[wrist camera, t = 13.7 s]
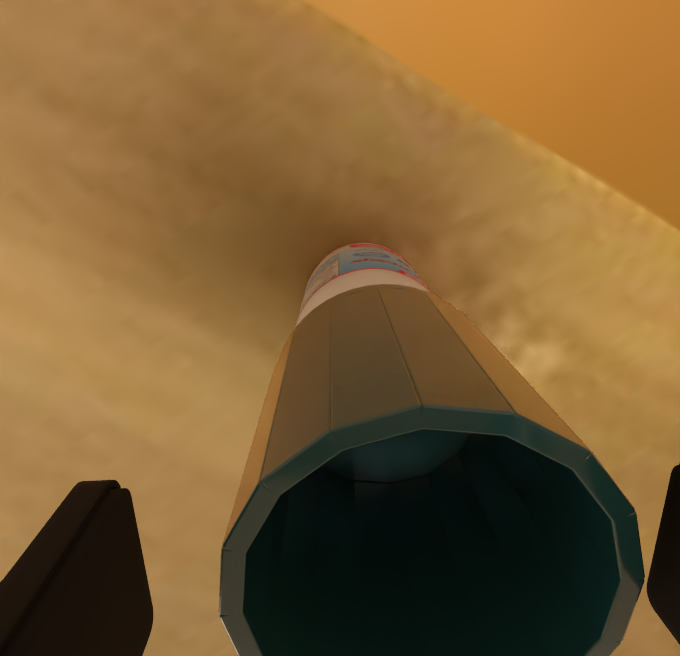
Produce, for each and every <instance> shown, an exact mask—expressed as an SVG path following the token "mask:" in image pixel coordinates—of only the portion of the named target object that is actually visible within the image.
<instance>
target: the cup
mask: <svg viewBox="0 0 680 656" xmlns="http://www.w3.org/2000/svg"><path fill="white" fill-rule="evenodd" d="M644 578H645V574H644V567H643V559H642V552H641V545H640V537H639V530H638V522H637V515H636V512H635V510H634V507H633V506H632V504H631V503H630V502H629V500H628V499H627V498H626V496H625V495H624V494H623V492H622V491H621V490H620V488H619V487H618V486H617V484H616V483H615V482H614V480H613V479H612V478H611V476H610V475H609V474H608V472H607V471H606V470H605V468H604V467H603V466H602V464H601V463H600V462H599V460H598V459H597V458H596V456H595V455H594V454H593V452H592V451H591V450H590V449H589V448H588V447H587V446H586V445H585V444H584V443H583V442H582V440H581V439H580V438H579V437H578V436H577V435H576V434H575V433H574V432H573V431H572V430H571V429H570V427H569V426H568V425H567V424H566V423H565V422H564V421H563V420H562V419H561V418H560V417H559V416H558V414H557V413H556V412H555V411H554V410H553V409H552V408H551V407H550V406H549V405H548V404H547V403H546V401H545V400H544V399H543V398H542V397H541V396H540V395H539V394H538V393H537V392H536V391H535V390H534V388H533V387H532V386H531V385H530V384H529V383H528V382H527V381H526V380H525V379H524V378H523V376H522V375H521V374H520V373H519V372H518V371H517V370H516V369H515V368H514V367H513V366H512V365H511V363H510V362H509V361H508V360H507V359H506V358H505V357H504V356H503V355H502V354H501V353H500V352H499V350H498V349H497V348H496V347H495V346H494V345H493V344H492V343H491V342H490V341H489V340H488V339H487V337H486V336H485V335H484V334H483V333H482V332H481V331H480V330H479V329H478V328H477V327H476V326H475V324H474V323H473V322H472V321H471V320H470V319H469V318H468V317H467V316H466V315H465V314H464V313H463V312H461V311H459V310H458V309H456V308H455V307H454V306H453V305H451V304H450V303H448V302H447V301H445V300H443V299H442V298H440V297H438V296H436V295H434V294H432V293H429V292H427V291H424V290H421V289H417V288H414V287H409V286H403V285H395V284H379V285H368V286H363V287H359V288H354V289H351V290H348V291H346V292H343V293H340V294H338V295H336V296H334V297H332V298H330V299H328V300H326V301H325V302H323V303H322V304H320V305H319V306H317V307H316V308H314V309H313V310H312V311H311V312H310V313H309V314H308V315H306V316H305V317H304V318H303V319H302V320H301V321H300V323H299V324H298V325H297V326H296V327H295V329H294V330H293V331H292V333H291V334H290V336H289V338H288V339H287V341H286V343H285V345H284V347H283V349H282V351H281V354H280V357H279V359H278V361H277V362H276V364H275V366H274V370H273V373H272V376H271V380H270V383H269V387H268V390H267V394H266V397H265V400H264V404H263V407H262V411H261V414H260V418H259V421H258V424H257V428H256V431H255V435H254V438H253V442H252V445H251V449H250V452H249V455H248V459H247V462H246V466H245V469H244V473H243V476H242V479H241V483H240V486H239V490H238V493H237V497H236V500H235V503H234V507H233V510H232V514H231V517H230V521H229V524H228V527H227V531H226V534H225V538H224V541H223V545H222V548H221V568H220V594H219V614H220V618H221V621H222V623H223V625H224V627H225V629H226V631H227V633H228V635H229V637H230V639H231V641H232V643H233V645H234V647H235V650H236V652H237V654H238V656H610V655H611V654H612V653H613V652H614V651H615V650H616V648H617V647H618V646H619V645H620V644H621V641H623V639H624V636H625V633H626V630H627V628H628V625H629V622H630V619H631V617H632V614H633V611H634V608H635V606H636V603H637V600H638V597H639V594H640V592H641V589H642V586H643V583H644Z"/></svg>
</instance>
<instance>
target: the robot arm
mask: <svg viewBox="0 0 680 656" xmlns="http://www.w3.org/2000/svg"><path fill="white" fill-rule="evenodd" d="M647 594H648V598H649V601H650V603H651V606H652V607H653V609H654V610H655V612H656V613H657V614H658V616H659V617H660V619H661V620H662V621H663V623H664V624H665V625H666V627H667V628H668V629H669V631H670V632H671V634H672V635H673V636H674V638H675V639H676V640H677V642H678V643H679V644H680V464H679V465H677V466H675V467H674V468H673V470H672V473H671V477H670V481H669V486H668V490H667V495H666V499H665V504H664V509H663V513H662V518H661V522H660V527H659V531H658V536H657V541H656V545H655V550H654V554H653V559H652V563H651V568H650V572H649V577H648V582H647ZM152 624H153V606H152V601H151V596H150V591H149V585H148V580H147V575H146V570H145V565H144V559H143V554H142V549H141V544H140V539H139V534H138V528H137V523H136V518H135V513H134V508H133V503H132V497H131V494H130V491H129V490H128V489H126V488H122V489H121V487H120V484H119V483H118V482H117V481H115V480H101V481H82V482H79V483H77V484H76V485H75V486H74V488H73V489H72V490H71V491H70V493H69V494H68V495H67V497H66V498H65V499H64V501H63V502H62V503H61V505H60V506H59V507H58V509H57V510H56V511H55V512H54V514H53V515H52V516H51V518H50V519H49V520H48V522H47V523H46V524H45V526H44V527H43V528H42V529H41V531H40V532H39V533H38V535H37V536H36V537H35V539H34V540H33V541H32V543H31V544H30V545H29V546H28V548H27V549H26V550H25V552H24V553H23V554H22V556H21V557H20V558H19V560H18V561H17V562H16V563H15V565H14V566H13V567H12V569H11V570H10V571H9V573H8V574H7V575H6V577H5V578H4V579H3V580H2V581H1V582H0V656H142V655H143V652H144V649H145V647H146V644H147V641H148V638H149V636H150V632H151V629H152Z"/></svg>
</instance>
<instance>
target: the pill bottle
mask: <svg viewBox="0 0 680 656" xmlns="http://www.w3.org/2000/svg"><path fill="white" fill-rule="evenodd" d="M379 284H395V285H403V286H409V287H414V288H417V289H421V290H424V291H427V292H429V293H431V292H430V291H429V289H428V288H427V287H426V285H425V284H424V283H423V282H422V280H421V279H420V278H419V276H418V275H417V274H416V273H415V271H414V270H413V269H412V267H411V266H410V265H409V264H408V263H407V261H406V260H405V259H403V258H402V257H401V256H400V255H399V254H397V253H396V252H394V251H393V250H391V249H389V248H387V247H384V246H382V245H378V244H373V243H354V244H349V245H346V246H343V247H340V248H338V249H336V250H335V251H333V252H331V253H330V254H329V255H327V256H326V257H325V258H324V259H323V260H322V261H321V262H320V263H319V265H318V266H317V267H316V268H315V270H314V272H313V273H312V275H311V277H310V279H309V281H308V284H307V286H306V290H305V294H304V297H303V301H302V304H301V308H300V312H299V316H298V319H297V323H296V326H297V325H298V324H299V323H300V321H301V320H302V319H303V318H304V317H305V316H306V315H308V314H309V313H310V312H311V311H312V310H313V309H314V308H316V307H317V306H319V305H320V304H322V303H323V302H325V301H326V300H328V299H330V298H332V297H334V296H336V295H338V294H340V293H343V292H346V291H348V290H351V289H354V288H359V287H363V286H368V285H379Z"/></svg>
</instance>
